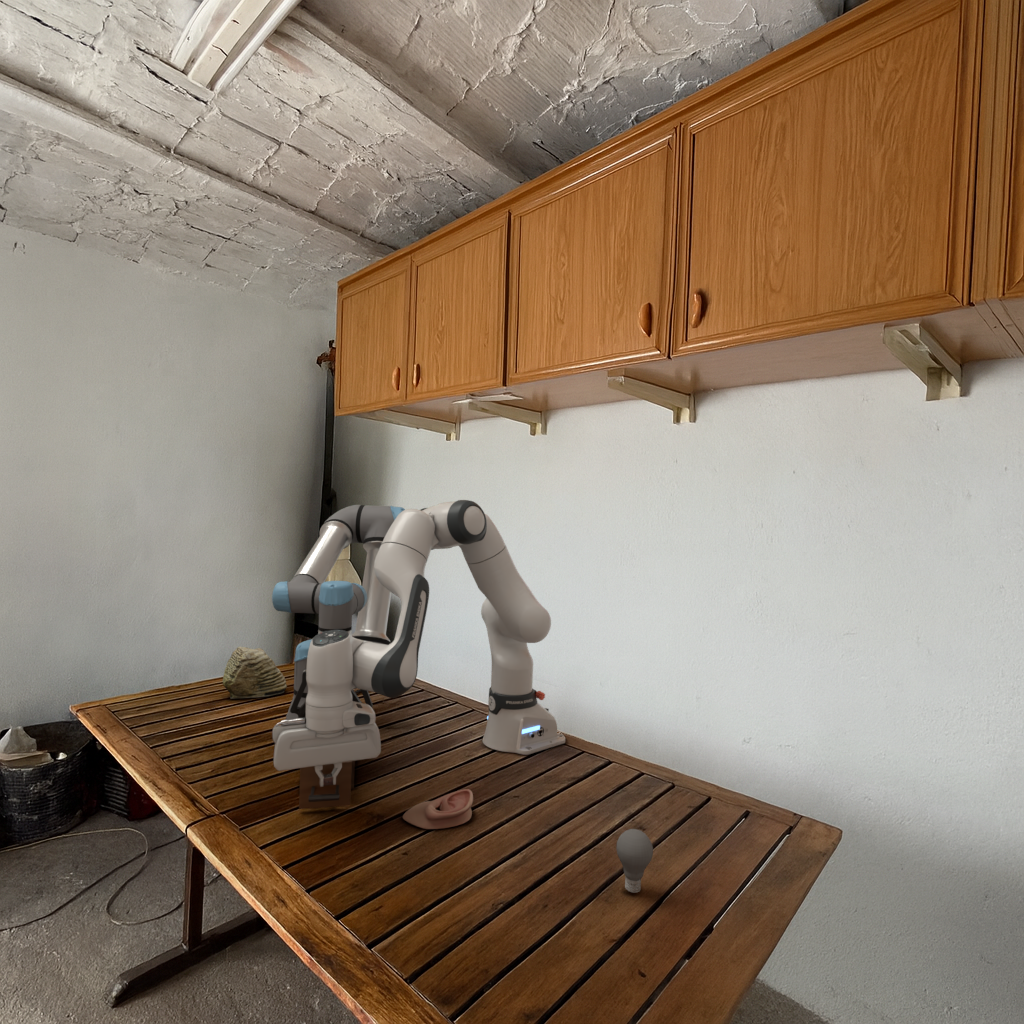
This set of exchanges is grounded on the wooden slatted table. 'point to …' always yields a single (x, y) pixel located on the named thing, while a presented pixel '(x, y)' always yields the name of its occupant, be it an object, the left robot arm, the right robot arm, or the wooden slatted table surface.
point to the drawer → (325, 787)
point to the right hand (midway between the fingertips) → (327, 784)
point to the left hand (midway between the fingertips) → (330, 741)
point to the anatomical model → (442, 811)
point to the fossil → (252, 674)
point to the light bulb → (634, 857)
